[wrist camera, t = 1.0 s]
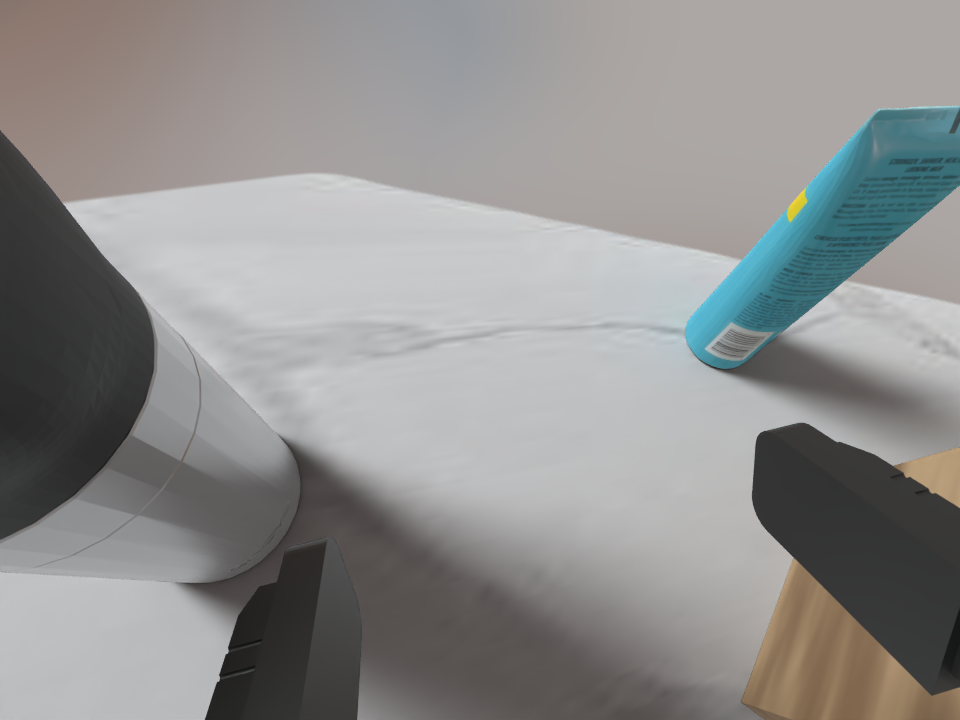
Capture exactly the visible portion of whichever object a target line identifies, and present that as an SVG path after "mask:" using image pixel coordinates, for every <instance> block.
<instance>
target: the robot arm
mask: <svg viewBox="0 0 960 720" xmlns="http://www.w3.org/2000/svg"><path fill="white" fill-rule="evenodd" d="M299 498H300V475H299V470H298V466H297V462H296V460H295V458H294V456H293V454H292V452H291V450H290V449H289V447H288V446H287V445H286V444H285V443H284V441H283V440H282V439H281V438H280V437H279V436H278V435H277V434H276V433H275V432H274V431H273V430H272V429H271V428H270V427H269V425H268V424H267V423H266V422H265V421H264V420H263V419H262V418H261V417H260V416H259V415H258V414H257V413H256V412H255V411H254V410H253V409H252V408H251V407H250V406H249V405H248V404H247V403H246V401H245V400H244V399H243V398H242V397H241V396H240V395H239V394H238V393H237V392H236V391H235V390H234V389H233V388H232V387H231V386H230V385H229V384H228V383H227V382H226V381H225V380H224V379H223V378H222V377H221V376H220V375H219V374H218V373H217V372H216V371H215V370H214V369H213V368H212V367H211V366H210V365H209V364H208V363H207V362H206V361H205V360H204V359H203V358H202V357H201V356H200V355H199V354H198V353H197V352H196V350H195V349H194V348H193V347H192V346H191V345H190V344H189V343H188V342H187V341H186V340H185V339H184V338H183V337H182V336H181V335H180V334H179V333H178V332H177V331H175V330H174V329H173V328H172V327H171V326H170V325H169V324H168V323H167V322H166V321H165V319H164V318H163V317H162V316H161V315H160V314H159V313H158V312H157V311H156V310H155V309H154V308H153V307H152V306H151V305H150V304H149V303H148V302H147V301H146V300H145V299H144V298H143V297H142V296H141V295H140V294H139V293H138V292H137V291H136V290H135V289H134V288H133V287H132V285H131V284H130V283H129V282H128V281H127V280H126V279H125V278H124V277H123V276H122V275H121V274H120V273H119V272H118V271H117V270H116V269H115V268H114V267H113V266H112V265H111V264H110V263H109V261H108V260H107V259H106V258H105V257H104V256H103V255H102V254H101V252H100V251H99V250H98V249H97V247H96V246H95V245H94V243H93V242H92V241H91V239H90V238H89V237H88V236H87V234H86V233H85V232H84V230H83V229H82V228H81V227H80V225H79V224H78V223H77V221H76V220H75V219H74V218H73V216H72V215H71V214H70V212H69V211H68V210H67V209H66V207H65V206H64V205H63V203H62V202H61V201H60V199H59V198H58V197H57V196H56V194H55V193H54V192H53V190H52V189H51V188H50V187H49V186H48V184H47V183H46V182H45V181H44V180H43V179H42V177H41V176H40V175H39V174H38V173H37V171H36V170H35V169H34V168H33V167H32V166H31V164H30V163H29V162H28V161H27V159H26V158H25V157H24V156H23V155H22V154H21V153H20V151H19V150H18V149H17V148H16V147H15V146H14V145H13V144H12V143H11V142H10V141H9V139H7V137H6V136H5V135H4V134H3V133H2V132H1V131H0V572H8V573H25V574H43V575H61V576H78V577H96V578H114V579H131V580H149V581H163V582H182V583H212V582H216V581H220V580H224V579H229V578H231V577H234V576H236V575H238V574H240V573H242V572H245V571H247V570H249V569H250V568H252V567H253V566H254V565H256V564H257V563H259V562H260V561H262V560H263V559H264V558H265V557H266V556H267V555H268V554H269V553H270V552H271V551H272V550H273V549H274V548H275V547H276V546H277V545H278V544H279V543H280V541H281V540H282V538H283V537H284V535H285V534H286V532H287V531H288V529H289V528H290V525H291V523H292V521H293V518H294V516H295V514H296V511H297V507H298V502H299ZM752 501H753V506H754V509H755V512H756V515H757V517H758V519H759V521H760V522H761V524H762V525H763V526H764V528H765V529H766V530H767V531H768V532H769V533H770V534H771V535H772V536H773V537H774V538H775V539H776V540H777V541H778V542H779V543H780V544H781V545H782V546H783V547H784V548H785V549H786V550H787V551H788V552H789V553H790V554H791V555H792V556H793V557H794V558H795V559H796V560H797V561H798V562H799V563H800V564H801V565H802V566H803V567H804V568H805V569H806V570H807V571H808V572H809V573H810V574H811V575H812V576H813V577H814V578H815V579H816V580H817V581H818V582H819V583H820V584H821V585H822V586H823V587H824V588H825V589H826V590H827V591H828V592H829V593H830V594H831V595H832V596H833V597H834V598H835V599H836V600H837V601H838V602H839V603H840V605H841V606H842V607H843V608H844V609H845V610H846V611H847V612H848V613H849V614H850V615H851V616H852V617H853V618H854V619H855V620H856V621H857V622H858V623H859V624H860V625H861V626H862V627H863V628H864V629H865V630H866V631H867V632H868V633H869V634H870V635H871V636H872V637H873V638H874V639H875V640H876V641H877V642H878V643H879V644H880V645H881V646H882V647H883V648H884V649H885V650H886V651H887V652H888V653H889V654H890V655H891V656H892V657H893V658H894V659H895V660H896V661H897V662H898V663H899V664H900V665H901V666H902V667H903V668H904V669H905V670H906V671H907V672H908V673H909V674H910V675H911V676H912V677H913V678H914V679H915V680H916V681H917V682H918V683H919V684H920V685H921V686H922V687H923V688H924V689H925V690H926V691H927V692H928V693H929V694H930V695H931V696H933V695H936V694H939V693H943V692H946V691H949V690H953V689H956V688H959V687H960V508H959V507H957V506H956V505H954V504H953V503H951V502H949V501H948V500H946V499H945V498H943V497H941V496H940V495H938V494H937V493H933V494H932V493H931V492H930V491H929V488H927V487H925V486H924V485H922V484H921V483H919V482H917V481H916V480H914V479H913V478H911V477H908V478H906V477H905V475H904V473H903V472H902V471H900V470H898V469H897V468H895V467H894V466H892V465H890V464H889V463H887V462H886V461H884V460H882V459H881V458H879V457H878V456H876V455H874V454H871V453H869V452H866V451H863V450H860V449H858V448H855V447H852V446H850V445H847V444H844V443H841V442H838V443H837V442H835V441H834V440H832V439H831V438H829V437H828V436H826V435H825V434H823V433H821V432H820V431H818V430H817V429H815V428H814V427H812V426H810V425H809V424H806V423H796V424H792V425H788V426H784V427H780V428H776V429H772V430H768V431H764V432H761V433H760V434H759V435H758V437H757V440H756V447H755V461H754V475H753V490H752ZM361 638H362V628H361V617H360V610H359V605H358V601H357V598H356V595H355V592H354V589H353V587H352V584H351V581H350V578H349V576H348V573H347V570H346V568H345V565H344V562H343V559H342V557H341V554H340V551H339V549H338V546H337V543H336V541H335V540H334V538H332V537H328V538H324V539H320V540H316V541H312V542H308V543H304V544H300V545H296V546H292V547H289V548H287V549H286V551H285V554H284V557H283V561H282V565H281V569H280V573H279V577H278V581H277V582H276V583H272V584H268V585H264V586H260V587H259V588H258V589H257V591H256V592H255V593H254V595H253V596H252V598H251V599H250V600H249V602H248V603H247V605H246V606H245V607H244V609H243V610H242V612H241V613H240V614H239V616H238V618H237V621H236V625H235V628H234V631H233V634H232V637H231V640H230V643H229V646H228V649H229V653H228V654H226V656H225V659H224V662H223V665H222V668H221V671H220V674H219V676H220V681H219V682H217V684H216V687H215V690H214V693H213V696H212V699H211V703H210V706H209V709H208V712H207V715H206V718H205V720H357V712H358V694H359V675H360V656H361Z"/></svg>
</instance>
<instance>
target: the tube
mask: <svg viewBox="0 0 960 720" xmlns="http://www.w3.org/2000/svg"><path fill="white" fill-rule="evenodd" d="M959 185H960V106H939V107H931V106H929V107H912V108H892V109H878V110H877V111H876V112H875V113H874V114H873V115H872V116H871V117H870V118H869V119H868V120H867V121H866V122H865V124H863V126H862V127H861V128H860V129H859V130H858V131H857V132H856V133H855V134H854V135H853V136H852V137H851V139H850V140H849V141H848V142H847V143H846V144H845V145H844V146H843V148H841V150H840V151H839V152H838V153H837V154H836V155H835V156H834V157H833V158H832V159H831V161H830V162H829V163H828V164H827V165H826V166H825V167H824V168H823V169H822V171H821V172H820V173H819V174H818V175H817V176H816V177H815V179H813V180H812V182H811V183H810V184H809V185H808V186H807V187H806V188H805V189H804V190H803V191H802V193H801V194H800V195H799V196H798V197H797V198H796V199H795V201H794V202H793V203H792V204H791V205H790V206H789V207H788V209H787V210H786V211H785V212H784V213H783V214H782V216H781V217H780V218H779V219H778V220H777V221H776V222H775V223H774V225H773V226H772V227H771V228H770V229H769V230H768V231H767V233H766V234H765V235H764V236H763V237H762V238H761V240H760V241H759V242H758V243H757V244H756V245H755V246H754V248H753V249H752V250H751V251H750V252H749V253H748V255H747V256H746V257H745V258H744V259H743V260H742V261H741V262H740V263H739V264H738V265H737V267H736V268H735V269H734V270H733V271H732V272H731V273H730V275H729V276H728V277H727V278H726V279H725V280H724V281H723V282H722V283H721V284H720V285H719V287H718V288H717V289H716V290H715V291H714V292H713V293H712V294H711V295H710V296H709V298H708V299H707V300H706V301H705V302H704V303H703V304H702V305H701V306H700V307H699V308H698V310H697V311H696V312H695V313H694V314H693V315H692V316H691V318H690V319H689V321H688V322H687V325H686V328H685V337H686V341H687V344H688V345H689V347H690V349H691V350H692V352H693V353H694V354H695V355H696V356H697V357H698V358H699V359H700V360H702V361H703V362H705V363H707V364H709V365H711V366H714V367H717V368H722V369H730V368H735V367H738V366H740V365H742V364H743V363H745V362H746V361H747V360H749V359H750V358H751V357H752V356H754V355H755V354H756V353H757V352H758V351H760V350H761V349H762V348H763V347H765V346H766V345H767V344H768V343H770V342H771V341H772V340H773V339H774V338H776V337H777V336H778V335H779V334H781V333H782V332H783V331H784V330H785V329H787V328H788V327H789V326H790V325H792V324H793V323H794V322H795V321H797V320H798V319H799V318H800V317H801V316H803V315H804V314H805V313H806V312H808V311H809V310H810V309H811V308H812V307H814V306H815V305H816V304H817V303H819V302H820V301H821V300H822V299H823V298H825V297H826V296H827V295H828V294H829V293H831V292H832V291H833V290H834V289H836V288H837V287H838V286H839V285H840V284H842V283H843V282H844V281H845V280H846V279H848V278H849V277H850V276H851V275H852V274H854V273H855V272H856V271H857V270H859V269H860V268H861V267H862V266H864V265H865V264H866V263H867V262H868V261H870V259H872V258H873V257H875V256H876V255H877V254H878V253H879V252H881V251H882V250H883V249H884V248H885V247H887V246H888V245H889V244H890V243H891V242H893V241H894V240H895V239H896V238H897V237H899V236H900V235H901V234H902V233H903V232H905V231H906V230H907V229H908V228H909V227H911V226H912V225H913V224H914V223H915V222H917V221H918V220H919V219H920V218H921V217H922V216H924V215H925V214H926V213H927V212H929V211H930V210H931V209H932V208H933V207H935V206H936V205H937V204H938V203H939V202H940V201H942V200H943V199H944V198H945V197H946V196H947V195H949V194H950V193H951V192H952V191H953V190H954V189H956V188H957V187H958V186H959Z"/></svg>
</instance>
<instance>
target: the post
mask: <svg viewBox="0 0 960 720" xmlns="http://www.w3.org/2000/svg"><path fill="white" fill-rule="evenodd" d="M894 467H895V468H897V469H898V470H900V471H902V472H903V473H904V475H905V477H906V478H908V477H911V478H913V479H914V480H916V481H917V482H919V483H921V484H922V485H924V486H925V487H927V488H929V491H930V492H931V493H932V494H933V493H937V494H938V495H940V496H941V497H943V498H945V499H946V500H948V501H949V502H951V503H953V504H954V505H956V506H957V507H959V508H960V447H958V448H955V449H951V450H948V451H944V452H941V453H937V454H934V455H930V456H927V457H923V458H919V459H916V460H912V461H909V462H905V463H902V464H898V465H895V466H894ZM742 703H743V704H745V705H746V706H747V707H749V708H750V709H751V710H753V711H754V712H756V713H757V714H758V715H760V716H761V717H763V718H764V719H765V720H960V687H959V688H956V689H953V690H949V691H946V692H943V693H939V694H936V695H933V696H931V695H930V694H929V693H928V692H927V691H926V690H925V689H924V688H923V687H922V686H921V685H920V684H919V683H918V682H917V681H916V680H915V679H914V678H913V677H912V676H911V675H910V674H909V673H908V672H907V671H906V670H905V669H904V668H903V667H902V666H901V665H900V664H899V663H898V662H897V661H896V660H895V659H894V658H893V657H892V656H891V655H890V654H889V653H888V652H887V651H886V650H885V649H884V648H883V647H882V646H881V645H880V644H879V643H878V642H877V641H876V640H875V639H874V638H873V637H872V636H871V635H870V634H869V633H868V632H867V631H866V630H865V629H864V628H863V627H862V626H861V625H860V624H859V623H858V622H857V621H856V620H855V619H854V618H853V617H852V616H851V615H850V614H849V613H848V612H847V611H846V610H845V609H844V608H843V607H842V606H841V605H840V603H839V602H838V601H837V600H836V599H835V598H834V597H833V596H832V595H831V594H830V593H829V592H828V591H827V590H826V589H825V588H824V587H823V586H822V585H821V584H820V583H819V582H818V581H817V580H816V579H815V578H814V577H813V576H812V575H811V574H810V573H809V572H808V571H807V570H806V569H805V568H804V567H803V566H802V565H801V564H800V563H799V562H798V561H797V560H796V559H795V558H794V559H793V561H792V564H791V567H790V570H789V572H788V575H787V578H786V581H785V583H784V586H783V589H782V592H781V594H780V597H779V600H778V603H777V605H776V608H775V611H774V614H773V616H772V619H771V622H770V625H769V627H768V630H767V633H766V636H765V638H764V641H763V644H762V647H761V649H760V652H759V655H758V658H757V660H756V663H755V666H754V669H753V671H752V674H751V677H750V680H749V682H748V685H747V688H746V691H745V693H744V696H743V699H742Z"/></svg>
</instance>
